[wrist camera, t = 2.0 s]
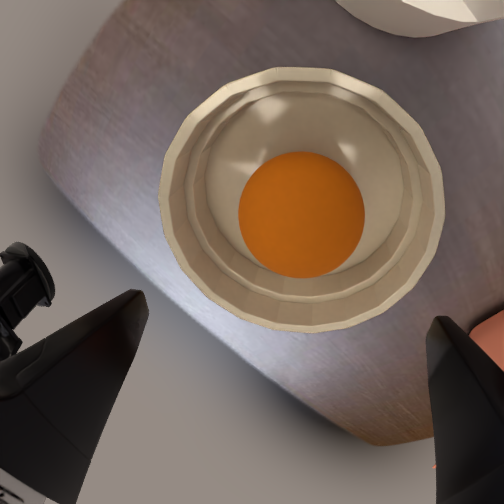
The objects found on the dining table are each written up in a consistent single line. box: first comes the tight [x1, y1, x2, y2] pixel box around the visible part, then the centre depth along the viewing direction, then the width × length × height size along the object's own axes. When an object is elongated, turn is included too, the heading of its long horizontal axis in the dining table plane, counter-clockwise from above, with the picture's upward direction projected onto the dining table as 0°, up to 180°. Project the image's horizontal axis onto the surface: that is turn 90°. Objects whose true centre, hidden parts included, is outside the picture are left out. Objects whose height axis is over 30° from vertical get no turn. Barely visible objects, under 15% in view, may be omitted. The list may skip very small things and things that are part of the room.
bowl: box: [158, 67, 445, 333], centre depth 16 cm, size 14×14×4 cm
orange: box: [238, 151, 365, 278], centre depth 15 cm, size 6×6×6 cm
